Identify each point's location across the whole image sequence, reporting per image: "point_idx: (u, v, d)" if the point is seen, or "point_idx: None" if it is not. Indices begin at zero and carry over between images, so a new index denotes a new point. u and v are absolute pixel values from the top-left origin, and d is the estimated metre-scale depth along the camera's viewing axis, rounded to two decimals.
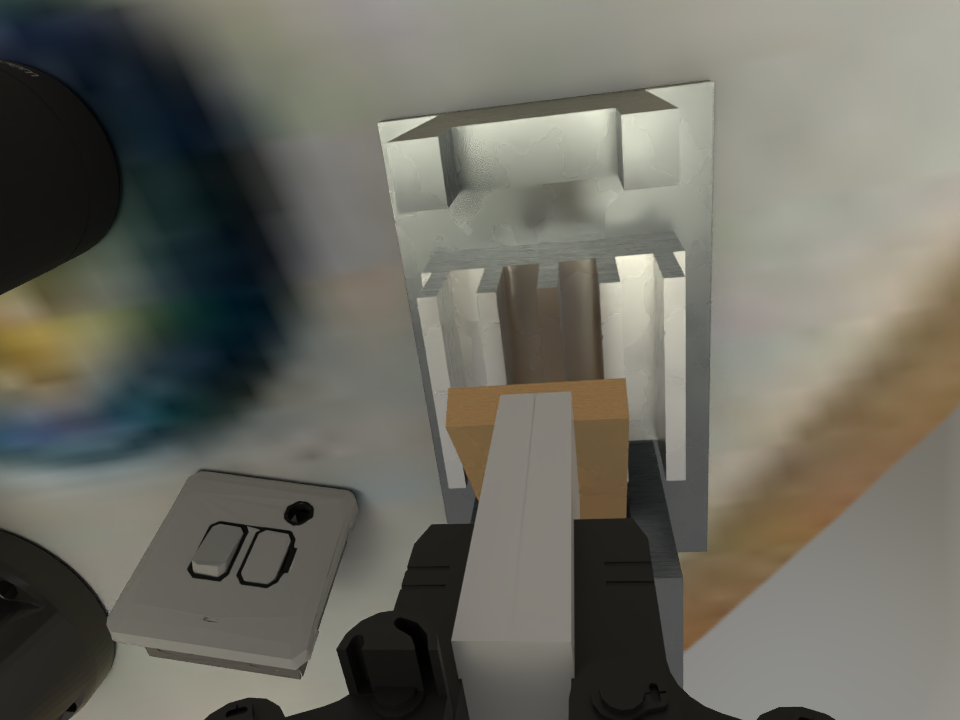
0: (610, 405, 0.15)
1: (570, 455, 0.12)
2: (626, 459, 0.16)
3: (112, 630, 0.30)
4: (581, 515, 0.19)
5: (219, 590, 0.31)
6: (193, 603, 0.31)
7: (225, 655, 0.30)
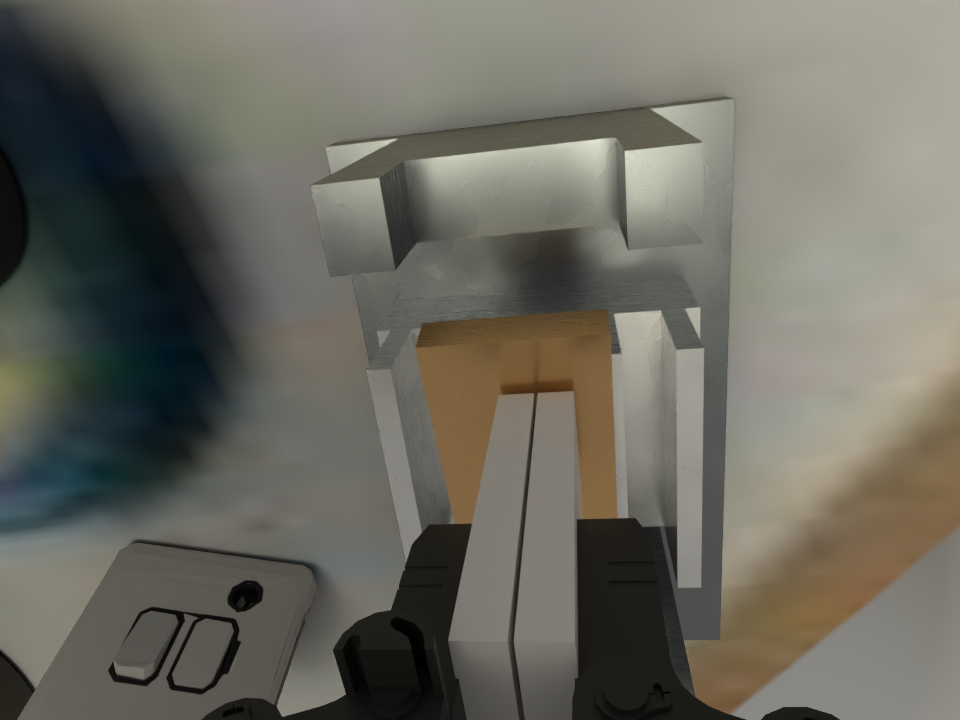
0: (590, 327, 0.14)
1: (573, 455, 0.12)
2: (611, 414, 0.15)
3: None
4: None
5: (145, 698, 0.26)
6: (112, 715, 0.26)
7: None
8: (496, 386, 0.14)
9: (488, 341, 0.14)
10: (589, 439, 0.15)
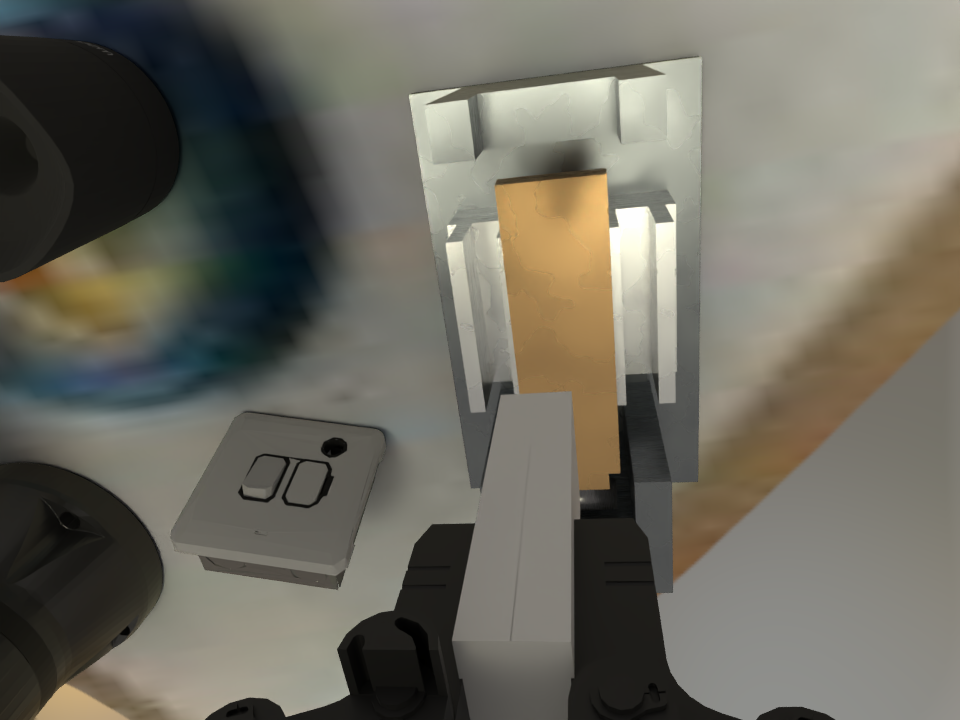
0: (595, 173, 0.24)
1: (570, 455, 0.12)
2: (608, 230, 0.25)
3: (176, 541, 0.34)
4: (581, 325, 0.27)
5: (267, 510, 0.36)
6: (245, 520, 0.35)
7: (274, 563, 0.34)
8: (540, 211, 0.25)
9: (536, 180, 0.24)
10: (595, 249, 0.25)
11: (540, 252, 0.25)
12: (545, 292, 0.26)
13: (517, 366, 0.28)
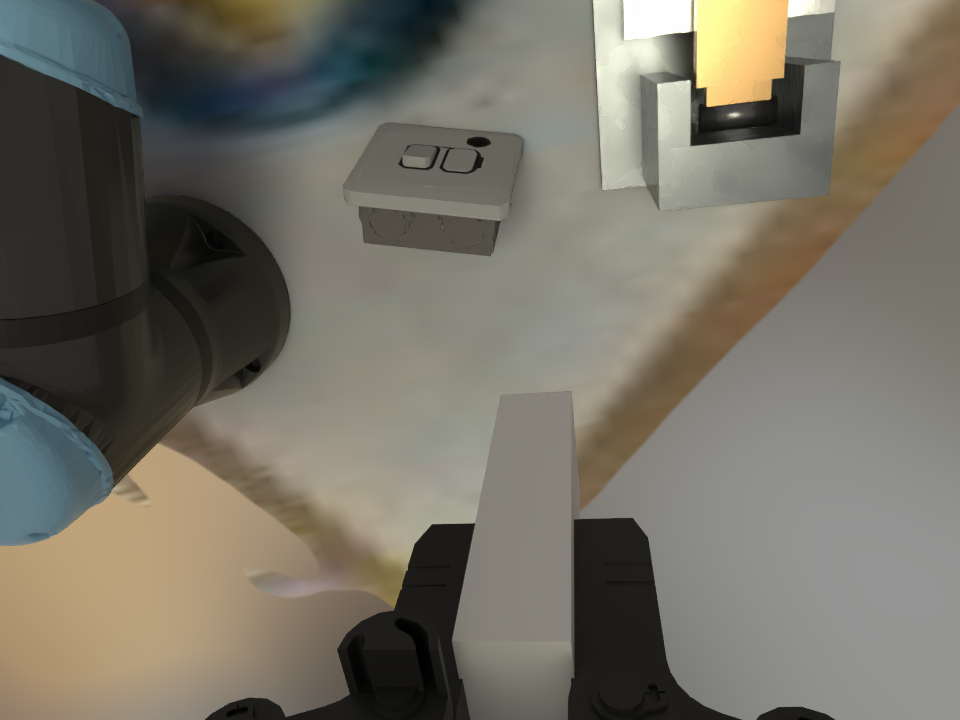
0: None
1: (570, 455, 0.12)
2: None
3: (350, 190, 0.37)
4: None
5: (428, 175, 0.38)
6: (410, 179, 0.38)
7: (442, 208, 0.37)
8: None
9: None
10: None
11: None
12: None
13: None
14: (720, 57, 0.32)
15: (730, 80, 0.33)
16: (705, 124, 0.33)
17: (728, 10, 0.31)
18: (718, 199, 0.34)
